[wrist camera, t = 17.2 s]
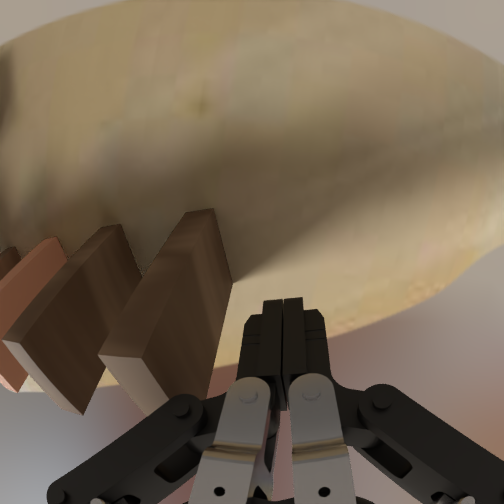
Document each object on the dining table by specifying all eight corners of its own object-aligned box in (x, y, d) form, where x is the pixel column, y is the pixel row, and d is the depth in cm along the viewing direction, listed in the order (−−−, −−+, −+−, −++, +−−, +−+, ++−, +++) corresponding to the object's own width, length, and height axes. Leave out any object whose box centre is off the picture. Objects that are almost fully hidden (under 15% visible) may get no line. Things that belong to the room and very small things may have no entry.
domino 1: (207, 285, 19) (161, 432, 10) (185, 212, 16) (97, 354, 8) (232, 283, 18) (197, 436, 10) (213, 208, 16) (141, 358, 7)
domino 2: (128, 291, 20) (61, 409, 11) (100, 227, 17) (1, 339, 9) (147, 289, 19) (83, 415, 11) (120, 223, 17) (19, 343, 8)
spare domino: (71, 293, 21) (5, 387, 12) (43, 239, 18) (-42, 328, 10) (84, 293, 20) (17, 393, 12) (56, 236, 18) (-34, 330, 9)
